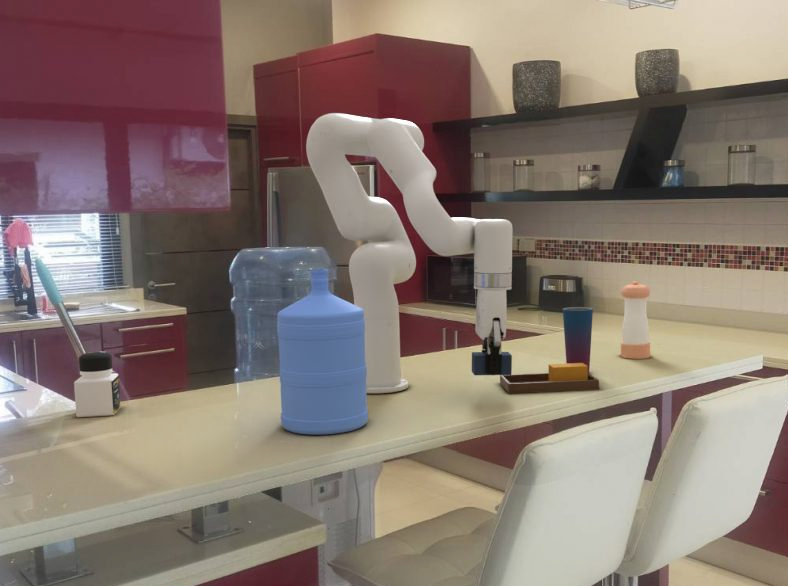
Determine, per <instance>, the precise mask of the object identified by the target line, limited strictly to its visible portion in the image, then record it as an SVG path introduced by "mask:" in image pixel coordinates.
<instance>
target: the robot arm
mask: <svg viewBox="0 0 788 586" xmlns="http://www.w3.org/2000/svg"><path fill="white" fill-rule="evenodd" d="M424 137H425V136H424V135H423V132H422V131H421V129H420V128H419V126H417V125H416V124H415V123H413V122H412V121H409V120H404V119H398V118H390V117H387V118H373V117H366V116H360V115H353V114H347V113H343V112H342V113H341V112H331V113H326V114H323V115H321V116H319V117H317V118H316V119H315V121H314V123H312V124H311V126H310V128H309V131H308V134H307V137H306V143H305V150H306V151H305V152H306V157H307V161H308V164H309V166H310V169H311V171H312V173H313V175H314V177H315V179H316V181H317V183H318V185H319V187H320V189H321V191H322V194H323V197H324V199H325V201H326V204H327V206H328V209H329V212H330V213H331V216H332V218H333V221H334V223H335V226H336V227H337V230H338V232H339V233H340V235H341V236H342V237H343V238H344V239H346V240H349V241H353V242H354V241H355V242H360V241H361V242H363V241H367V242H368V243H363V244H362V245H360V246H358V247H357V248H356V249H355V250H354V251H353V252H352V253H351V256H350V258H349V262H348V273H349V278H350V279H349V280H350V284H351V287H352V294H353V304H354V305H356V306H358V307H360V308H362V309H363V311H364V319H365V363H366V368H367V377H366V393H367V394H390V393H396V392H401V391H403V390H407V389H408V388H409V381H408V380H407V379H404V378H402V368H401V367H402V365H401V337H400V336H401V335H400V334H401V332H400V331H401V328H400V308H399V307H400V306H399V300H398V296H397V292H396V290H395V286H394V285H397V284H401V283H405V282H407V281H408V280H409V279H410V278H412V276H413V275H414V273H415V271H416V267H417V257H416V253H415V251H414V248H413V246H412V243H411V241H410V239H409V236H408V234H407V232H406V229H405V228H404V227H405V226H404V225H403V222H402V220H401V218H400V216H399V214H398V212H397V210H396V208H395V207H394V206H393V205H392V204H391V203H390V202H389V201H388V200H387V199H384V198H382V197H379V196H370V195H368V193H367V192H366V190H365V188H364V186H363V184H362V182H361V179H360V176H359V175H358V172H357V171H356V169H355V168H354V167H353V165H351V163H350V162H349V161H348V159H347V156H346V155H348V156H349V155H350V156H360V157H370V158H376V159H377V161H378V163H379V164H380V165H381V166H382V168H383V170H385V172H386V173H387V175H388V176H389V177H390V179H391V180H392V182H393V183H394V184H395V186H396V187H397V188H398V190H399V191H400V193H401V194H402V198H403V206H404V208H405V211H406V215H407V217H408V220H409V222H410V224H411V225H412V227H413V228H414V230H415V231H416V233H417V234H418V235H419V237H420V238H421V240H422V241H423V242H424V244H425V245H426V246H427V247H428V248H429V249H430V251H432V252H433V253H435V254H437V255H439V256H442V257H452V256H462V255H469V254H473V289H474V290H477V294H476V306H475V307H476V310H475V311H476V312H475V328H474V330H475V334H476V335H477V336H478V337H479V338H480V339H481V340H482V342H481V343H482V344H481V348H482V349H481V352H487V354H486V355H485V373H486V374H501V372H502V354H501V353H502V352H503V351H502V340H504V339H505V338H506V337H507V320H508V319H507V318H508V317H507V315H508V314H507V313H508V312H507V303H508V302H507V300H508V299H507V291H510V290H512V288H513V287H512V283H513V280H512V278H513V277H512V276H513V272H512V271H513V233H514V232H513V231H514V230H513V224H512V222H511V221H510V220H509V219H501V218H494V219H492V218H484V219H478V218H472V217H451V216H450V215H449V214H448V212H447V211H446V210H445V208H444V207H443V205H442V204H441V202H440V201H439V199H438V198H437V196H436V193H435V191H434V182H435V180H436V178H437V170H436V167H435V166H434V165H433V164H432V162H431V161H430V159H429V158H428V157H427V156H426V155H425V153H424V152H423V151H424V147H425V138H424Z"/></svg>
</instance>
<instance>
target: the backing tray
mask: <svg viewBox="0 0 788 586" xmlns="http://www.w3.org/2000/svg"><path fill="white" fill-rule="evenodd" d="M499 384H500V386H501V387H502V388H503V389H504V390H505V391H506V392H507V394H524V393H525V394H528V393H549V392H550V393H552V392H569V391H570V392H571V391H574V392H575V391H593V390H594V391H595V390H596V391H597V390H600V380H599V379H598V378H597V377H595V376H594V375H592V374H590V372H589V373H588V380H577V381H554V382H549V372H539V373H537V372H536V373H517V374H516V373H515V374H513V373H511V375H499Z"/></svg>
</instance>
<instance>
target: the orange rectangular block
mask: <svg viewBox="0 0 788 586" xmlns="http://www.w3.org/2000/svg"><path fill="white" fill-rule="evenodd" d="M548 373H549V382H554V381H577V380H588V366H587V365H585V364H583V363H568V364H566V363H549V364H548Z"/></svg>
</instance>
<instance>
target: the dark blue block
mask: <svg viewBox="0 0 788 586" xmlns="http://www.w3.org/2000/svg"><path fill="white" fill-rule="evenodd" d="M486 354H487V352H482V351H471V373H472V374H473V375H474V376H500V375H512V374H513V373H512V366H513V365H512V363H513V356H512V354H511V353H510V352H509V351H502V353H501V354H502V372H501V374H486V373H485V355H486Z"/></svg>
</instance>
